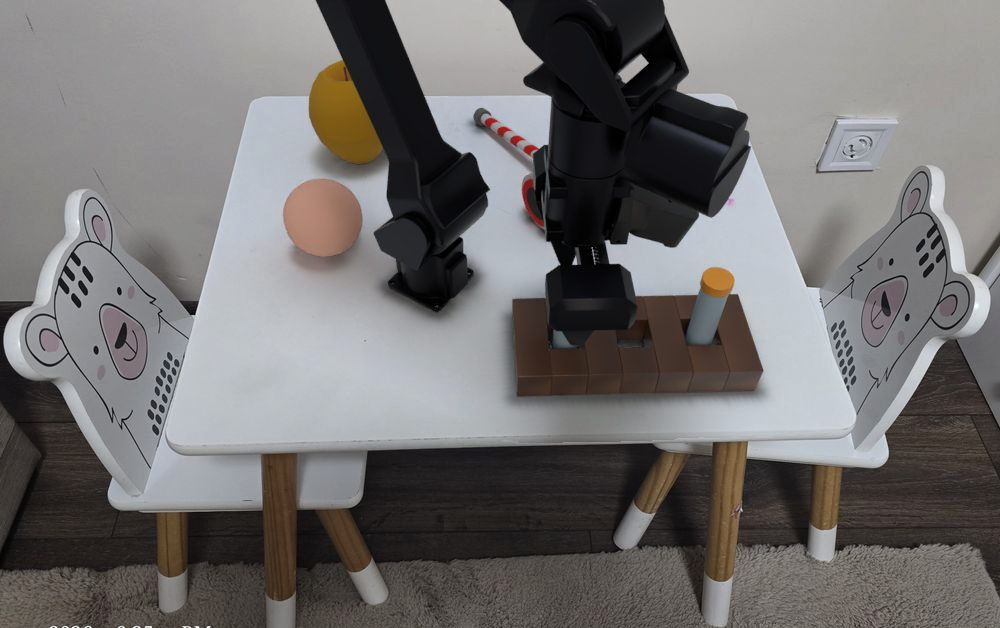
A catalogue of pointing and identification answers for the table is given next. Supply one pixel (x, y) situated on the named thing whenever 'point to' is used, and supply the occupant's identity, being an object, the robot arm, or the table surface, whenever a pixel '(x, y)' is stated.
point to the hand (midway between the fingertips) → (571, 302)
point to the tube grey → (561, 341)
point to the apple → (342, 116)
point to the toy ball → (322, 217)
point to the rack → (636, 353)
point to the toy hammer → (527, 189)
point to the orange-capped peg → (709, 306)
